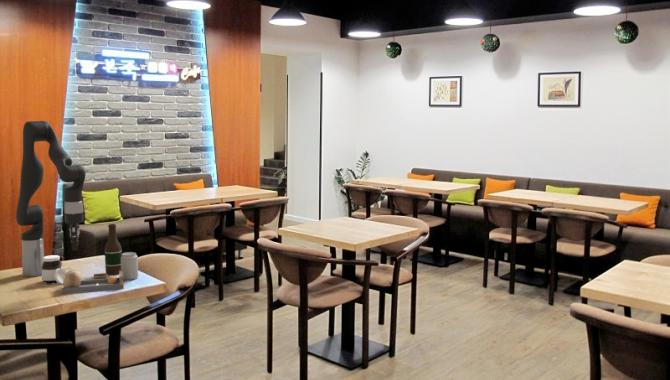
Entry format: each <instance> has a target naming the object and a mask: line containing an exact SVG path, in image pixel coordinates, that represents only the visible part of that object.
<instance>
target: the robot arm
mask: <svg viewBox="0 0 670 380" xmlns="http://www.w3.org/2000/svg"><path fill="white" fill-rule="evenodd" d="M58 138H59V137H58V136H57V134H56V132H55V130H54V129H53V127H52V125H51V124H50V123H49V122H48V121H46V120H29V121H26V122H24V124H23V127H22V161H21V170H20V172H21V173H20V185H19V193H18V194H19V195H18V201H17V207H16V212H15V219H16V223H17V225H19V226H20V227H25V226H31V227H30V228H29V229H28V230H26V231H24V232H22V233H21V249H22V251H21V252H22V253H21V254H22V256H21V266H22V267H21V268H22V276H23V277H38V276H42V264H43V262H44V261H43V257H45V248H44V247H45V245H44V212H43V207H41V205H39V204H33V205H32V204H31V205H29V204H30V202H31V200H32V197H33V196H34V195H35V193H37V191H38V190H39V188H40V187H41V185H42V183H43V181H44V180H43V179H44V165H43V163H42V162H41V160H40V159H39V157H38V156H37V154H36V152H35V143H37V142H38V143H39V142H47V144H48V145H49V148H48V151H47V153H48V157H49V159H50V160H51V162H52V164H54V166H55V168H56V170H57V173H58V174H57V175H58V178H59V179H60V181H62V182H64V183H72V185H71V186H68V187H66V188H65V189H64V194H63V195H64V205H63V206H64V209H63V210H64V222H65V224H70V226H69V237H70V242H71V250H72V251H78V250H79V249H78V247H79V244H80V243H79V242H80V241H79V240H80V239H79V237H80V229H81V226H80V225H79V224H81V223H83V222H84V219H85V218H84V205H83V188H84V183H85V180H86V175H87V174H86V173H87V172H86V169H85V168H84V166H83V165H80V164H73V160H72V158H71V156H70V155H69V154H68V153H67V151H66V150H65V149H64V147H63V146H62V144H61V142H60V140H59V139H58Z"/></svg>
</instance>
